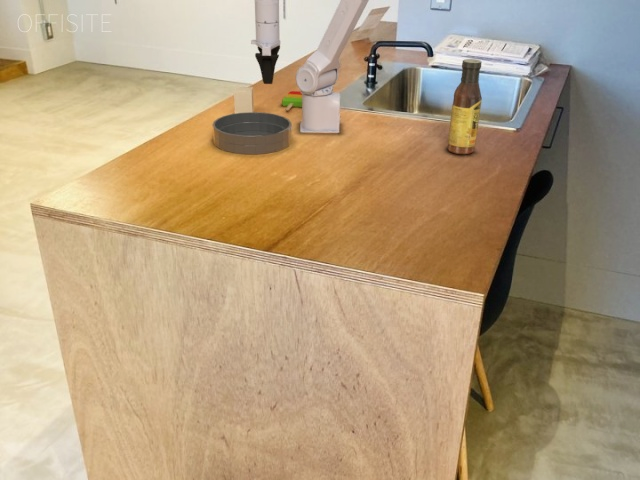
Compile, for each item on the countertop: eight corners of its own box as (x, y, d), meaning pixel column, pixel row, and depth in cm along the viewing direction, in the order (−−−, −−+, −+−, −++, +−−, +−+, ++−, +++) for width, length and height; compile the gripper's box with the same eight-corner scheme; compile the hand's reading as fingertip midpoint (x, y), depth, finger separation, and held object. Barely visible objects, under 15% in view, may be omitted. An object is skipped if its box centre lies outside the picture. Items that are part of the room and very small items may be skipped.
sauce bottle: (474, 156, 154) (487, 65, 143) (446, 154, 155) (457, 63, 144) (474, 147, 160) (487, 58, 149) (447, 145, 161) (458, 56, 150)
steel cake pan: (292, 130, 167) (292, 112, 165) (290, 156, 152) (290, 136, 150) (218, 130, 167) (217, 111, 164) (209, 155, 152) (208, 135, 149)
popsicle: (308, 98, 192) (308, 91, 191) (297, 114, 179) (297, 106, 178) (289, 97, 192) (289, 90, 191) (276, 112, 180) (276, 105, 179)
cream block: (254, 119, 175) (252, 87, 170) (252, 124, 171) (251, 91, 167) (236, 118, 175) (235, 86, 170) (235, 124, 171) (233, 91, 167)
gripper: (252, 15, 170) (254, 72, 177) (248, 26, 158) (250, 87, 165) (280, 16, 170) (281, 72, 177) (279, 27, 158) (279, 87, 165)
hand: (268, 79), depth 171 cm, fingers open, 7 cm apart
